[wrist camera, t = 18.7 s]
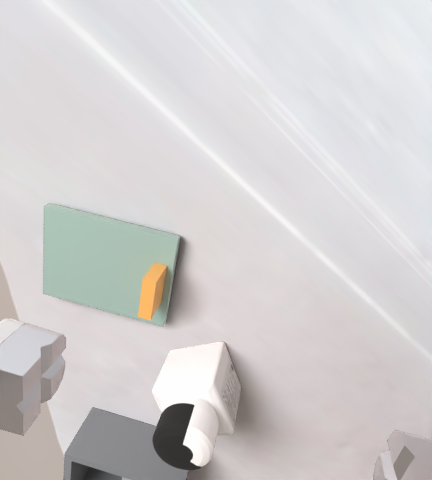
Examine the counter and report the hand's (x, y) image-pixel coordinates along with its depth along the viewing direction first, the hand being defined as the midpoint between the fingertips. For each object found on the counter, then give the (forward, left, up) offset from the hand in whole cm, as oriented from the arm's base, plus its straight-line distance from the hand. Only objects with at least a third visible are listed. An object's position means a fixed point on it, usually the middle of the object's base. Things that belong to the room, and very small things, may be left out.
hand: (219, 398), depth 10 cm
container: (+2, +30, -34) cm, 46 cm away
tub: (+9, +49, -34) cm, 60 cm away
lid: (+16, +18, -34) cm, 42 cm away
